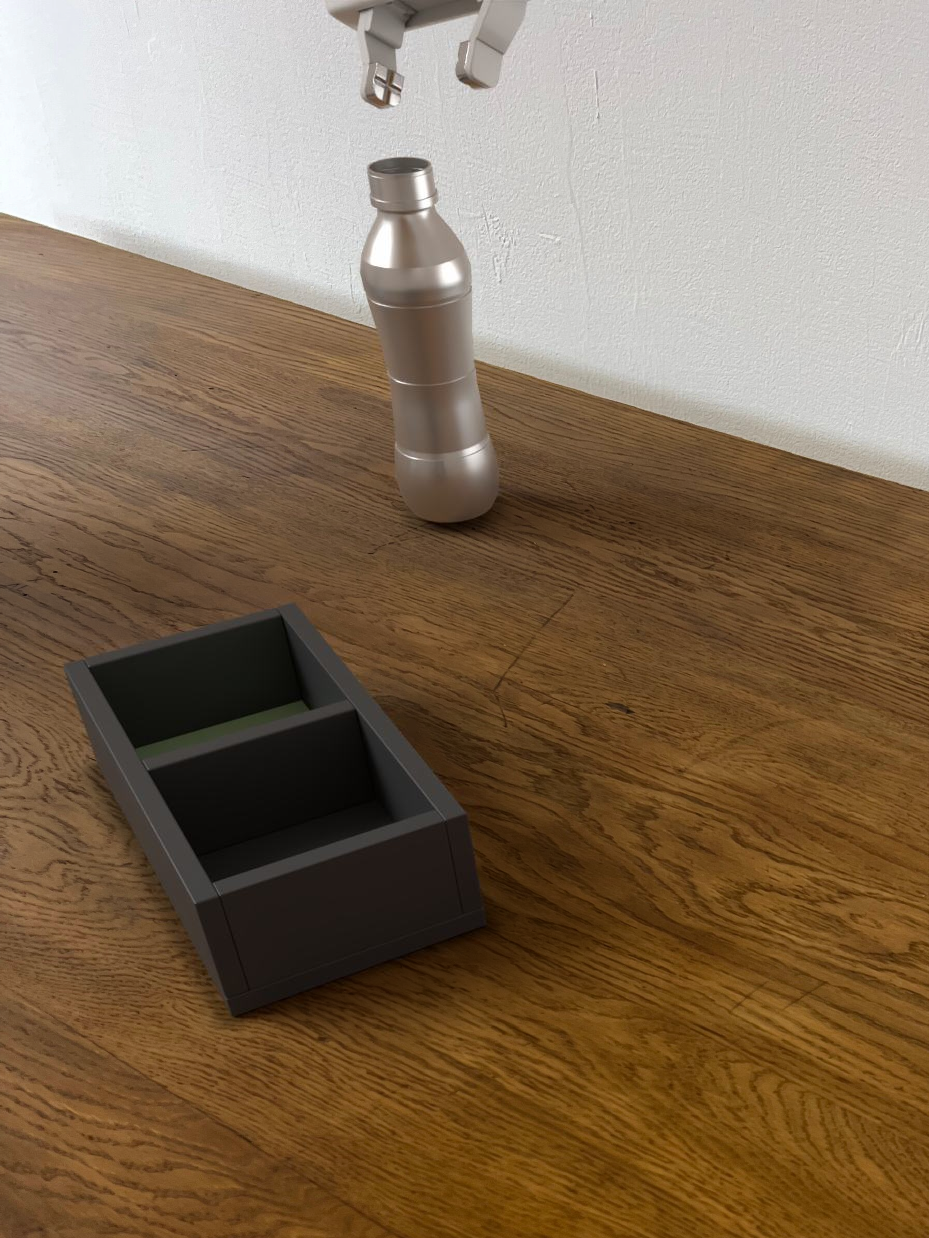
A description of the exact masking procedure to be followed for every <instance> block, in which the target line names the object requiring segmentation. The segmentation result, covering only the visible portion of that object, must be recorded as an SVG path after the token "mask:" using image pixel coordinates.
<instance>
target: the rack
mask: <svg viewBox="0 0 929 1238" xmlns="http://www.w3.org/2000/svg"><path fill="white" fill-rule="evenodd" d="M62 668H63V671H64V674H65V677H66V679H67V683H68V685H69V688H70V691H71V694H72V697H73V698H74V701H75V705H76V707H77V710H78V712H79V716H80V718H81V721H82V723H83V727H84V728H85V732H86V734H87V738H88V740H89V743H90V746H91V748H92V749H91V750H92V751H93V754H94V757H95V761H96V762H97V765H98V768H99V770H100V772H101V774H102V777H103V779H104V780H105V782H106V784H107V786H108V787H109V789H110V792H111V793H112V795H113V797H114V798H115V801H116V802H117V804H118V806H119V808H120V810H121V812H122V813H123V816H124V818H125V819H126V821H127V823H128V826H129V827H130V829H131V830H132V833H133V834H134V836H135V838H136V840H137V841H138V844H139V845H140V848H141V849H142V851H143V853H144V855H145V857H146V859H147V860H148V862H149V864H150V866H151V869H152V870H153V872H154V874H155V875H156V877H157V879H158V881H159V883H160V885H161V886H162V887H161V888H163V891H164V893H165V894H166V896H167V898H168V900H169V902H170V903H171V905H172V907H173V909H174V911H175V913H176V915H177V916H178V918H179V920H180V922H181V924H182V926H183V928H184V930H185V931H186V933H187V936H188V937H189V939H190V941H191V942H192V945H193V946H194V949H195V950H196V953H197V954H198V956H199V958H200V960H201V961H202V963H203V965H204V967H205V969H206V971H207V973H208V975H209V976H210V978H211V980H212V982H213V984H214V986H215V988H216V990H217V992H218V993H219V995H220V997H221V999H222V1001H223V1003H224V1005H225V1006H226V1008H227V1010H228V1012H229V1014H230V1016H231V1017H232V1018H234V1017H237V1016H240V1015H242V1014H243V1015H244V1014H245V1013H248V1012H251V1011H254V1010H256V1009H259V1008H262V1007H265V1006H268V1005H270V1004H273V1003H276V1002H279V1001H281V1000H284V999H287V998H289V997H293V996H295V995H297V994H301V993H303V992H306V991H308V990H311V989H315V988H317V987H320V986H322V985H323V986H324V985H325V984H328V983H331V982H332V981H337V980H340V979H341V978H344V977H347V976H350V975H353V974H356V973H358V972H361V971H364V970H367V969H369V968H372V967H374V966H377V965H380V964H383V963H385V962H388V961H391V960H394V959H396V958H400V957H402V956H405V955H408V954H410V953H413V952H416V951H418V950H422V949H424V948H427V947H430V946H432V945H435V944H438V943H441V942H444V941H447V940H449V939H452V938H455V937H457V936H460V935H463V934H466V933H469V932H471V931H474V930H477V929H479V928H482V927H485V926H487V918H486V913H485V908H484V902H483V897H482V891H481V886H480V885H481V884H480V880H479V873H478V869H477V868H478V867H477V862H476V857H475V852H474V846H473V841H472V835H471V829H470V823H469V818H468V817H469V816H468V813H467V812H466V811H465V809H464V808H463V807H462V806H461V804H460V803H459V802H458V801H457V799H456V798H455V797H454V795H453V794H452V793H451V792H450V791H449V789H447V787H446V786H445V785H444V783H443V782H442V781H441V780H440V779H439V777H438V776H437V775H436V774H435V772H433V770H432V769H431V768H430V766H429V765H428V764H427V762H426V761H425V760H424V759H423V758H422V757H421V755H420V754H419V753H418V752H417V751H416V749H415V748H414V747H413V745H412V744H411V743H410V742H409V741H408V739H407V738H406V737H405V736H404V735H403V734H402V732H401V731H400V730H399V728H398V727H397V726H396V725H395V723H394V722H393V721H392V720H391V719H390V717H389V716H388V715H387V714H386V713H385V711H384V710H383V709H382V708H381V706H380V705H379V704H378V703H377V702H376V700H375V699H374V697H372V696H371V694H370V693H369V692H368V690H367V689H366V688H365V686H363V684H362V683H361V682H360V681H359V679H358V678H357V677H356V676H355V675H354V673H353V672H352V670H351V669H350V668H349V667H348V666H347V665H346V663H345V662H344V661H343V660H342V659H341V657H340V656H339V655H338V654H337V652H336V651H335V649H333V647H332V646H331V644H329V643H328V642H327V640H326V639H325V638H324V636H323V635H322V634H321V632H319V631H318V629H317V627H315V626H314V624H313V623H312V622H311V621H310V619H309V618H308V617H307V616H306V614H305V613H304V612H303V610H301V608H300V607H299V606H298V604H296V602H290V603H286V604H282V605H278V606H276V607H271V608H268V609H263V610H260V611H256V612H253V613H249V614H244V615H241V616H238V617H235V618H231V619H226V620H223V621H218V622H215V623H211V624H207V625H204V626H200V627H197V628H194V629H188V630H186V631H182V632H178V633H174V634H170V635H167V636H163V637H159V638H156V639H151V640H148V641H143V642H140V643H137V644H133V645H129V646H126V647H122V648H117V649H114V650H110V651H107V652H103V653H99V654H95V655H92V656H88V657H84V658H80V659H77V660H71V661H69V662H65V663H62Z"/></svg>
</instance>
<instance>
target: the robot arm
mask: <svg viewBox="0 0 929 1238" xmlns="http://www.w3.org/2000/svg"><path fill="white" fill-rule="evenodd" d="M530 1H531V0H324V3H325V7H326V11H327V12H328V14H329V15H330V17H332V18H334V19H335V20H336V21H339V22H340V23H342V24H343V25H345V26H346V27H348V28H350V29H352V30H353V31H356V37H357V41H358V46H359V51H360V56H361V62H362V65H363V70H362V75H361V81H360V87H359V93H360V97H361V99H362V100H363V101H364V102H366V103H367V104H369V105H370V106H373V107H374V108H377V109H378V110H385V109H386V110H387V109H390V108H395V107H397V106H399V105H400V104H401V101H402V95H401V94H402V91H403V90H404V89H403V88H404V83H405V76H404V75H402V74H400V73H399V72H398V68H397V66H398V65H397V53H396V51H397V50H399V49H401V48H402V46H403V41H404V34H405V33H407V32H411V31H415V30H419V29H423V28H427V27H431V26H435V25H438V24H442V23H446V22H450V21H454V20H459V19H463V18H466V17H471V16H474V15H477V16H476V18H475V21H474V24H473V26H472V29H471V32H470V34H469V37H468V40H464V41H461V42H459V46H458V52H457V62H456V64H455V70H454V72H455V76H456V78H457V80H458V81H459V82H460V83H462V84H463V85H465V86H469V88H470V89H473V91H482V90H489V89H493V88H495V87H497V85H498V84H499V81H500V75H501V69H502V64H503V59H504V58H503V57H504V55H505V54H506V53H507V51H508V49H509V47H510V46H511V44H512V42H513V40H514V38H515V37H516V35H517V33H518V31H519V30H520V27H521V26H522V24H523V22H524V20H525V16H526V10H527V4H528V2H530Z"/></svg>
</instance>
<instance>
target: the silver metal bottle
mask: <svg viewBox="0 0 929 1238" xmlns="http://www.w3.org/2000/svg"><path fill="white" fill-rule="evenodd" d="M366 169H367V170H366V174H367V179H368V185H369V194H368V196H369V201H370V202H369V203H370V206H371V207H373V208H375V209H376V217H375V219H374V220H373V224H372V226H371V228H370V230H369V232H368V233H367V237H366V240H365V242H364V246H363V248H362V251H361V253H360V261H359V262H360V263H359V274H360V278H361V283H362V287H363V291H364V292H365V298H366V300H367V304H368V306H369V310H370V313H371V316H372V320H373V322H374V326H375V329H376V332H377V336H378V339H379V343H380V348H381V352H382V356H383V361H384V365H385V367H386V368H387V370H386V374H387V379H388V383H389V387H390V397H391V398H390V399H391V407H392V419H393V428H394V439H395V442H394V454H393V457H394V474H395V481H396V484H397V487H398V489H399V493H400V495H401V498H402V501H403V503H404V504H405V505H406V506H407V507H408V509H410V511H411V512H412V513H413V514H414V515H416V516H417V517H418V518H421V519H423V520H426V521H430V522H435V523H458V522H465V521H469V520H472V519H476V518H478V517H480V516H483V515H485V514H486V513H487V512H489V510H491V509H492V507H493V505H494V503H495V501H496V499H497V497H498V495H499V491H500V467H499V466H500V465H499V462H498V458H497V454H496V451H495V450H496V449H495V446H494V444H493V442H492V439H491V436H490V433H489V431H488V427H487V422H486V418H485V417H486V416H485V412H484V408H483V404H482V399H481V394H480V390H479V385H478V379H477V366H476V364H475V357H476V355H475V346H474V335H473V286H472V284H473V273H472V264H471V261H470V258H469V256H468V253H467V251H466V249H465V247H464V244H463V243H462V241H461V240H460V239H459V237H458V236H457V234H456V233H455V232H454V230H453V229H452V228H451V227H450V225H449V224H448V223H447V222H446V221H445V219H444V218H442V216H441V215H440V214H439V212H437V209H436V206H435V205H436V204H437V203H438V202H439V200H440V198H439V197H440V196H439V191H438V188H436V182H435V175H434V168H433V166H432V163H431V161H430V160H428V159H426V158H421V157H416V156H415V157H414V156H394V157H386V158H382V159H378V160H375V161H372V162H371V163H369V164H368V165H367V166H366Z"/></svg>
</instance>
